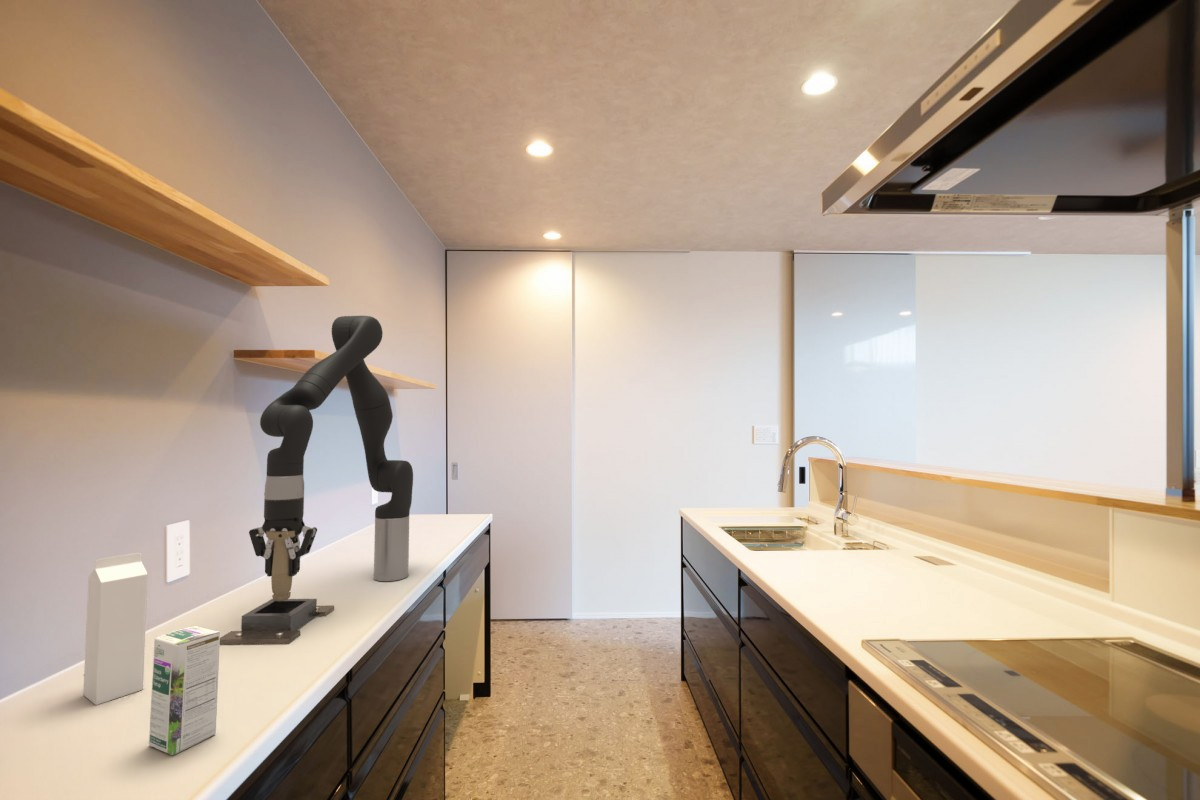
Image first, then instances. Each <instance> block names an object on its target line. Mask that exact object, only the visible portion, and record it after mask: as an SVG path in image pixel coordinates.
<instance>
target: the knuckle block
mask: <svg viewBox="0 0 1200 800" xmlns="http://www.w3.org/2000/svg"><path fill="white" fill-rule="evenodd" d="M317 600H318V599H317V598H288V600H284V601H273V598H271V599H270V600H268V601H266V602H264V603H262V604H261V605H259V606H257V607H255V608H254V609H251V610H250V611H248V612H246V613H245V614H243V615H241V625H240V626H241V627H240V629H241V630H230V631H229V632H228V633H226V634H224V635H222V636H220V646H222V645H223V646H228V645H229V646H231V645H232V646H233V645H234V646H235V645H237V646H238V645H239V646H240V644H243V645H289V644H291V643H292V642H294V641H295V640H296V639H297V638H299V637H301V630H300V629H301V628H303V627H304V626H306V625H307V624H308V623H310V622H311V621H312V620H313V619H315V618H316V617H321V616H325V617H326V616H328V615H329V614H331V613H332V612H333V611H335V605H333V604H332V605H317V604H318V603H317ZM330 612H331V613H330Z"/></svg>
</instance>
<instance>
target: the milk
mask: <svg viewBox="0 0 1200 800" xmlns="http://www.w3.org/2000/svg"><path fill="white" fill-rule="evenodd" d="M142 559H143V555H142V553H141V552H134V553H127V554H121V555H115V556H109V557H103V558H101V557H100V558H97V559H96V560H95V561H94V563H95V564H94V570H93V571H92V572H91V573H90V574H89V575H88V581H87V583H88V585H87V602H86V603H87V604H86V621H85V622H86V624H85V625H86V627H85V630H86V631H85V644H84V645H85V647H84V649H85V650H84V667H83V668H84V670H83V672H84V673H83V689H82V690H83V693H82V695H83V696H84V697H86V698H87V699H88V700H89V701H90V702H91V703H93V704H94V705H96V706H98V705H101V704H104V703H107V702H109V701H112V700H116V699H118V698H123V697H124V696H128V695H131V694H135V693H137V692H140V690H141V691H142V690H144V675H145V672H144V671H145V655H146V653H145V647H146V629H147V628H146V626H147V601H148V600H147V598H148V580H149V579H148V578H149V577H148V572H147V570H146V569H147V568H146V567H145V566H144V563H143V562H142V561H143V560H142Z"/></svg>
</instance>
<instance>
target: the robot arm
mask: <svg viewBox="0 0 1200 800" xmlns="http://www.w3.org/2000/svg"><path fill="white" fill-rule="evenodd" d="M383 334H384V333H383V327H382V325H381V323H380V322H379V320H378V319H377V318H375V317H374V316H370V315H343V316H339V317H336V318H335V319H334V320H333V322H332V326H331V338H332V342H333V345H334V349H335V351H334V352H333V353H331V354H329V355H328V356H325V358H323V359H321V360H320V361H317V362H316V363H315V364H314V365H313V366H311V367H310V368H308V370H307V371H305V373H304V374H303V375H302V376H301V377H300V379H299V380H298V381H297V382H296V383H295V385H294V386H293V387H292V388H290V389H289V390H287V391H286V392H284V393H283V394H281V395H280V396H279V397H277V398H276V399H274V400H273V401H272V402H270V404H268V405H267V407H266V408H265V409H264V410H263V411H262V413H261V416H260V420H259V425H260V429H261V430H262V432H263V433H265V434H266V435H268V436H270V437H274V438H275V437H277V438H282V441H281V444H280V446H279V447H275V448H273V449H271V450H270V451H269V452H268V453H267V458H266V480H265V484H264V492H263V494H264V495H263V496H264V497H263V498H264V499H263V500H264V503H263V504H264V505H263V506H264V507H263V518H264V521H263V524H262V526H261V527H254V528H253V529H250V530H249V531H248V535H249V537H250V540H251V541H250V542H251V544H252V546H253V547H252V548H253V550H254V553H255V556H256V557H261V558H264V560H265V561H264V573H265V574H266V577H272V576H271V575H272V564H273V554H274V540H271V539H269V538H267V541H265V538H264V535H266V531H270V532H276V531H282V532H287V534H288V531H295V537H292V538H291V537H290V536H289V538H287V539H285V544H286V548H287V549H288V551H289V555H290V558H291V559H289V576H293V577H294V576H297V574H298V573H299V571H300V569H301V557H303V556H305V555H307V554H309V553H310V552H311V550H312V546H313V544H314V540H315V537H316V535H317V532H318V528H317V527H315V526H313V527H309V526H306V525H305V522H304V519H303V518H304V514H305V511H304V510H305V480H304V466H305V465H304V462H305V458H304V457H305V455H306V451H307V448H308V445H309V442H310V438H311V435H312V432H313V427H314V418H313V416H312V415H313V414H312V412H311V411H312V410H316V409H318V408H319V407H321V405H322V404H323V403H324V402H325V401H326V399H327V398H328V397H329V396H330V394H331V393H333V390H335V388H336V387H337V386H338V384H339V383H340V382H341V381H342V380H343V379H344V378H345V379H346V382H347V385H348V386H347V387H348V389H349V392H350V393H349V394H350V396H351V400H352V406H353V409H354V412H355V413H354V414H355V417H356V421H357V424H358V427H359V432H360V435H361V439H362V445H363V449H364V455H365V463H366V469H367V474H368V475H367V476H368V480H369V483H370V487H371V488H372V489H373V490H374V491H375V492H379V493H391V497H390V500H389V501H388V502H386V503H383V504H381V505H378V506H377V507H376V508H375V511H374V550H373V551H374V552H373V554H374V555H373V579H374V581H377V582H396V581H400V580H403V579H406V578H408V576H409V558H410V555H409V553H410V542H409V541H410V510H411V506H412V503H413V502H412V500H413V487H414V471H413V467H412V465H411V464H412V463H410V462H409V461H408V460H399V459H396V460H394V459H388V458H387V456H386V452H385V441H386V438H387V435H388V433H389V430H390V428H391V425H392V423H393V410H392V406H391V401H390V397H389V394H388V392H387V390H386V389H385V387H384V386H383V384H381V382H380V381H379V380H378V379H377V377H376V376H375V375H374V374H373V373H372V372H371V370H370V369H369V368H368V365H367V364H366V361H365V359H366V358H367V357H369V355H371V353H373V352H374V351H375V350H376V349H377V348H378V347H379V346H380V345H381V342H382V339H383ZM298 534H299V535H298ZM300 534H302V536H303V540H302V542H300V537H299V536H301V535H300ZM288 535H289V534H288ZM297 535H298V536H297ZM296 536H297V537H296Z"/></svg>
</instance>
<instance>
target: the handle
mask: <svg viewBox="0 0 1200 800" xmlns="http://www.w3.org/2000/svg"><path fill="white" fill-rule="evenodd" d="M288 534H289V535H288ZM288 534H287V532H282V531H276V532H270V531H266V534H265V537H266V538H267V539H268V538H269V539H271V540H274V554H273V564H272V575H271V576H270V577H271V592H272V597H271V599H273V601H284V600H288V599H291V598H290V597H291V589H292V585H293V577H294V576H289V559H291V558H290V555H289V551H288V549H287V548H286V544H285V539H287V538H289V536H290V537H291V538H292V537H295V531H288ZM298 535H299V534H298ZM298 535H297V536H298ZM297 536H296V537H297ZM299 536H300V535H299Z"/></svg>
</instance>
